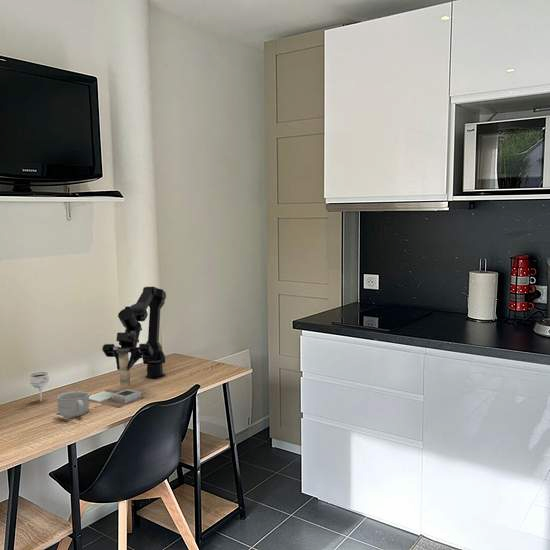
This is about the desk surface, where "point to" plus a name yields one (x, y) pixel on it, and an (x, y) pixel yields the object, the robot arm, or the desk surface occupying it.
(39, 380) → the wineglass
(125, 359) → the peg
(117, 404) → the board
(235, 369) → the desk surface
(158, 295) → the robot arm
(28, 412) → the desk surface
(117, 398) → the collar
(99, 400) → the coaster
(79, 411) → the teacup
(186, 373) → the desk surface
